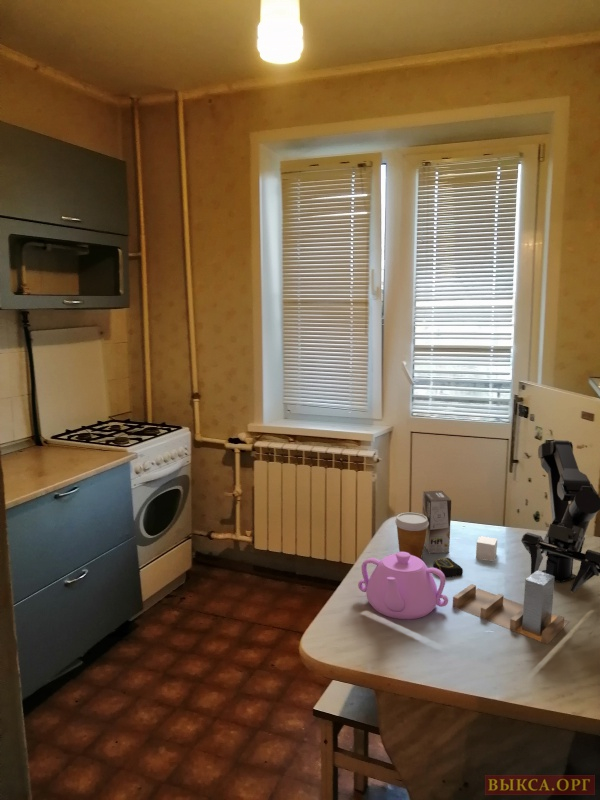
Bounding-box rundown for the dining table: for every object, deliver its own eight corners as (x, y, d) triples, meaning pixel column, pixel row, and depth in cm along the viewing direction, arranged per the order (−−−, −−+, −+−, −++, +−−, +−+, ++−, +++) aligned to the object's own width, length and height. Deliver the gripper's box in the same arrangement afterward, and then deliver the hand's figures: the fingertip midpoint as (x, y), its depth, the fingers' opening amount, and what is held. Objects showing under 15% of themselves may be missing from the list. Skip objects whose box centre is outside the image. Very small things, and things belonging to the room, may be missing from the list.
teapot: (341, 625, 140) (342, 569, 138) (367, 583, 160) (368, 534, 157) (438, 645, 132) (441, 586, 130) (452, 599, 152) (454, 546, 149)
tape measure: (463, 579, 162) (464, 566, 162) (441, 583, 160) (441, 569, 160) (449, 568, 169) (450, 555, 168) (428, 571, 167) (428, 559, 166)
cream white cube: (478, 551, 179) (479, 535, 179) (496, 555, 177) (497, 538, 176) (475, 558, 175) (476, 542, 174) (493, 561, 173) (494, 545, 172)
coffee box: (450, 552, 179) (452, 500, 176) (428, 553, 178) (430, 501, 175) (440, 540, 188) (442, 490, 185) (420, 540, 187) (421, 490, 184)
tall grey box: (533, 619, 140) (536, 570, 138) (550, 625, 137) (554, 576, 135) (522, 629, 136) (525, 579, 134) (539, 636, 133) (543, 585, 131)
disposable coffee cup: (432, 555, 177) (434, 515, 175) (420, 567, 169) (421, 526, 167) (401, 547, 182) (403, 509, 180) (388, 559, 174) (389, 519, 172)
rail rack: (477, 591, 155) (478, 579, 155) (569, 625, 140) (570, 611, 139) (452, 610, 146) (453, 596, 146) (546, 648, 131) (548, 633, 130)
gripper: (527, 500, 148) (503, 557, 142) (609, 520, 135) (586, 584, 129) (538, 522, 155) (516, 577, 149) (617, 543, 142) (596, 604, 136)
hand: (551, 585), depth 141 cm, fingers open, 9 cm apart
